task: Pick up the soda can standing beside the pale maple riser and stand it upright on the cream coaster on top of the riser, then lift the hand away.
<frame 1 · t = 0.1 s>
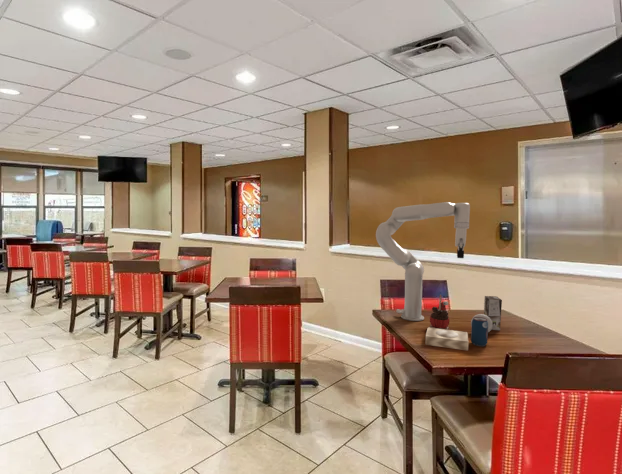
hand: (460, 257, 199), 37 cm above the table, tool pointing down, fingers open, 9 cm apart
riser: (446, 342, 171), on the table
donut: (481, 334, 184), on the table
soda can: (478, 344, 169), on the table
coffee box: (491, 327, 195), on the table
cake: (439, 329, 191), on the table
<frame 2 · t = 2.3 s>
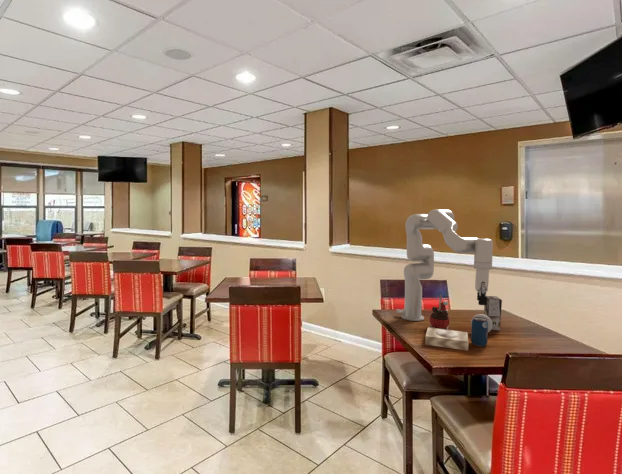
hand: (481, 302, 168), 20 cm above the table, tool pointing down, fingers open, 9 cm apart
nothing on the table moved.
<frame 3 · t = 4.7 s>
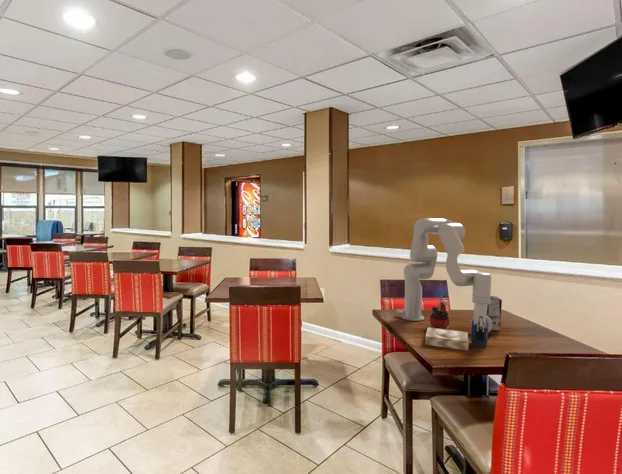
hand: (479, 337, 169), 3 cm above the table, tool pointing down, fingers closed on soda can, 6 cm apart
soda can: (478, 344, 169), on the table, touching gripper
everything else where it was.
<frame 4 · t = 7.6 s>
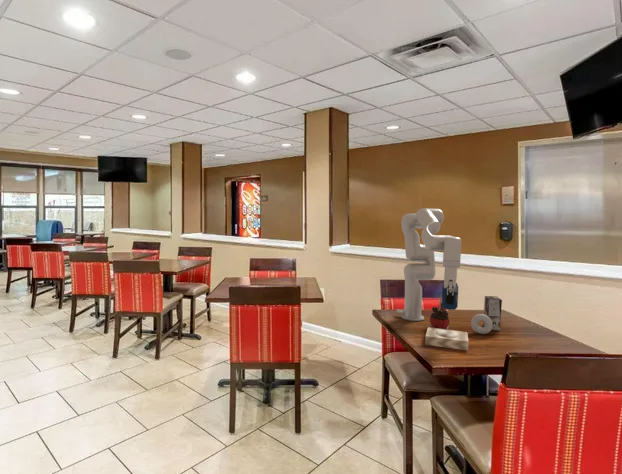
hand: (449, 301, 169), 19 cm above the table, tool pointing down, fingers closed on soda can, 6 cm apart
soda can: (449, 308, 170), point 16 cm above the table, touching gripper
everything else where it was.
when the fingers open (9 cm above the table, at t = 10.6 s): soda can drops 2 cm, resting on riser.
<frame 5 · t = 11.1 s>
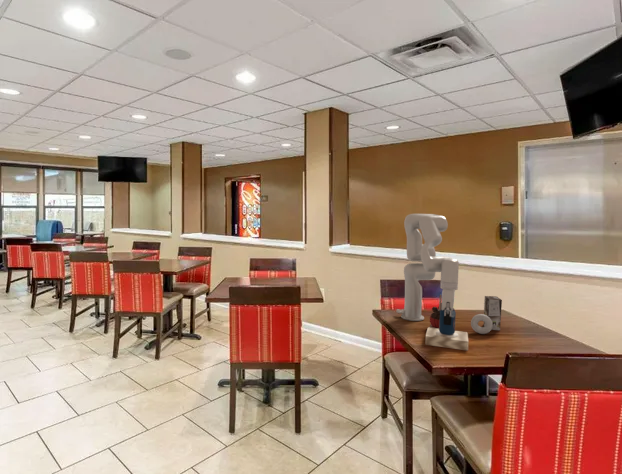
hand: (447, 321, 170), 10 cm above the table, tool pointing down, fingers open, 9 cm apart
soda can: (446, 333, 170), point 4 cm above the table, touching riser
everything else where it was.
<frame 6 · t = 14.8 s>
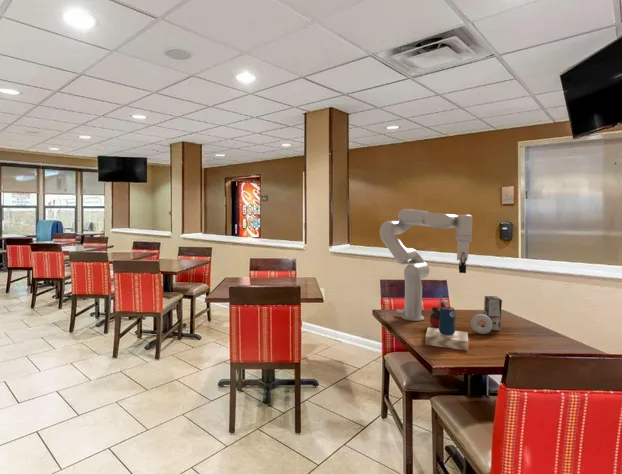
hand: (462, 271, 190), 30 cm above the table, tool pointing down, fingers open, 9 cm apart
nothing on the table moved.
at the end: soda can inside the target area on the riser (0.2 cm from its centre), point 4.0 cm above the riser's base; soda can tilted 0°; the gripper is holding nothing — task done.
